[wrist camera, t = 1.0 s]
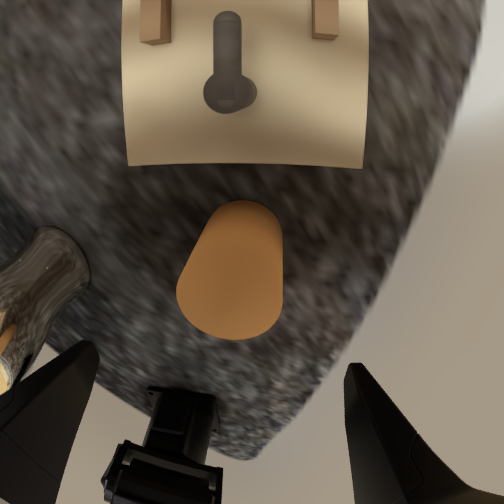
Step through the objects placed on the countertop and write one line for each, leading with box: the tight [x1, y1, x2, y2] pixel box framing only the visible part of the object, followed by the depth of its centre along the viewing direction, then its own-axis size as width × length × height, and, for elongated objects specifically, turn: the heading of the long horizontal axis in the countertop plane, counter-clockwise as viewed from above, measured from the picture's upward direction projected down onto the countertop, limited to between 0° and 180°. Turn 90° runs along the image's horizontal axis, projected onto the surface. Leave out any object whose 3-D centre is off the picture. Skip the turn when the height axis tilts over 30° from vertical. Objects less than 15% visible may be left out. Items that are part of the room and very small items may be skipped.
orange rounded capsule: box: [176, 200, 283, 340], centre depth 15 cm, size 4×4×6 cm
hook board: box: [122, 0, 369, 169], centre depth 10 cm, size 14×12×5 cm
